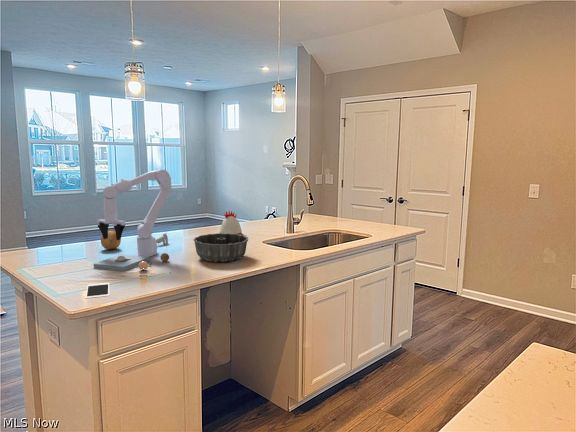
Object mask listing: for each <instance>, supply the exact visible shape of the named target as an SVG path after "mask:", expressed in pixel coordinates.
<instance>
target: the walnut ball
mask: <svg viewBox="0 0 576 432" xmlns="http://www.w3.org/2000/svg"><path fill="white" fill-rule="evenodd" d="M159 257H160V258H159V259H160V260H161V261H162V262H164V263H165V262H168V261H169V260H170V255H169V254H168V253H166V252H164V253H161V255H160V256H159Z"/></svg>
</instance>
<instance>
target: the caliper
mask: <svg viewBox="0 0 576 432" xmlns="http://www.w3.org/2000/svg"><path fill="white" fill-rule="evenodd" d="M156 241H157V244H161V243H163V245H166V244H169V238H168V235H167V233H162V236H160V237H158V238H156Z"/></svg>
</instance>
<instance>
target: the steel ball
mask: <svg viewBox="0 0 576 432" xmlns="http://www.w3.org/2000/svg"><path fill="white" fill-rule="evenodd" d="M116 261H117V262H126V258H125V257H124V256H119V257H118V258H117V260H116Z"/></svg>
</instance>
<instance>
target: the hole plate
mask: <svg viewBox="0 0 576 432" xmlns="http://www.w3.org/2000/svg"><path fill="white" fill-rule="evenodd" d="M119 256H124V257H125V258H126V262H117V261H116V260H117V258H118V257H119ZM150 258H151V256H150V257H143V256H134V254H133V255H131V254H123V253H122V254H118V255H115V256H113V257H109V258H106V259H103V260H100V261H97V262H94V263H93V269H99V270H101V269H102V270H110V271H116V272H117V271H119V272H126V271H128V270H131V269H134V268H136V267H138V265H139V263H140V262H142V261H145V262H147V263H149V262H150V260H151V259H150Z"/></svg>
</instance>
